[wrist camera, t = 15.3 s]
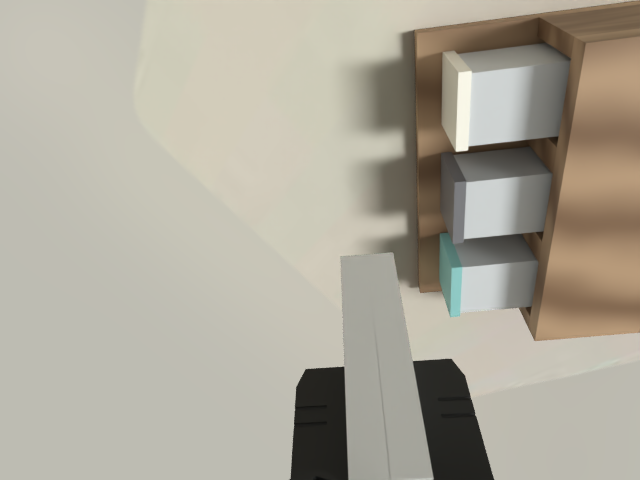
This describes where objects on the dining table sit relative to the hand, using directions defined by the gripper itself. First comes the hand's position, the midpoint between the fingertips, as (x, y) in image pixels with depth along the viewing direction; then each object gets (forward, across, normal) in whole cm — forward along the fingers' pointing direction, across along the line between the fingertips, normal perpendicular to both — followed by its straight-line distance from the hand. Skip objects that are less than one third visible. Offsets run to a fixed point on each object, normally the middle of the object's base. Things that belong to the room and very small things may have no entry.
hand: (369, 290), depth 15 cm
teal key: (+24, +13, -18) cm, 32 cm away
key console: (+25, +14, -10) cm, 30 cm away
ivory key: (+24, +13, -3) cm, 27 cm away
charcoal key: (+24, +13, -10) cm, 29 cm away
